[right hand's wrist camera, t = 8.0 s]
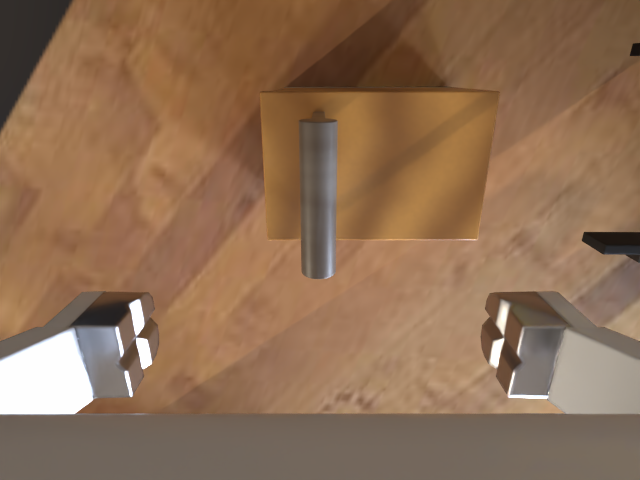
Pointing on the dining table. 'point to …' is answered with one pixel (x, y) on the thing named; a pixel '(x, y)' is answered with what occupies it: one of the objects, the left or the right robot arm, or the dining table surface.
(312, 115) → the lid
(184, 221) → the dining table surface
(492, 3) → the dining table surface
